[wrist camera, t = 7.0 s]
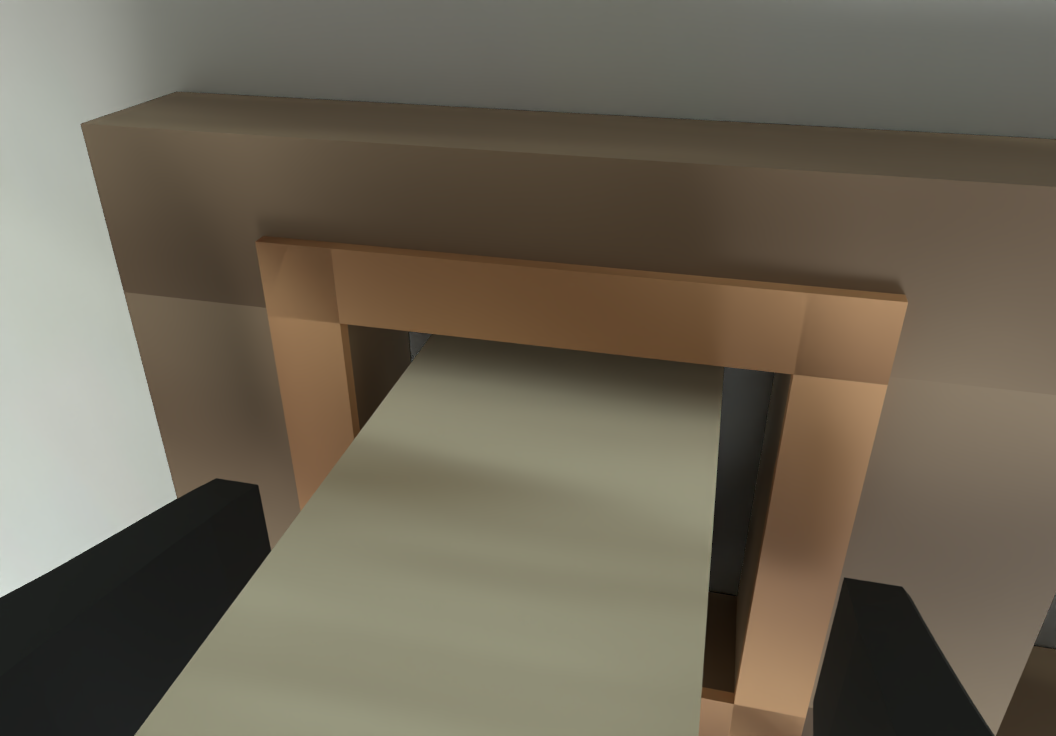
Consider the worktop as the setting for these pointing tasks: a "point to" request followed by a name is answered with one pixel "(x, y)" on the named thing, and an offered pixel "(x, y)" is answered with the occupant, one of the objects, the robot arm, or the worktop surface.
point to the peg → (485, 562)
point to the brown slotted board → (637, 333)
